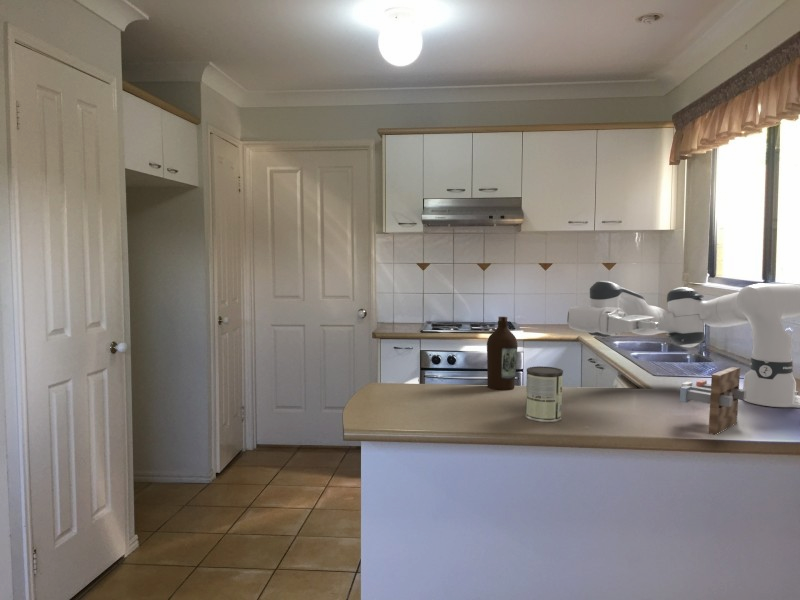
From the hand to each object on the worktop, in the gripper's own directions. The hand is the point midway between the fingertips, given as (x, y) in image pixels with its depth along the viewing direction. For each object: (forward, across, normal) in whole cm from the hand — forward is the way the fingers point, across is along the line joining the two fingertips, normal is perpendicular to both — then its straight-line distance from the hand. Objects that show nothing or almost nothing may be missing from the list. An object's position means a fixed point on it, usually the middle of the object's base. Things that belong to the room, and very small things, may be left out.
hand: (657, 325), depth 193 cm
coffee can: (-18, +34, -26) cm, 47 cm away
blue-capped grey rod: (+19, +12, -19) cm, 30 cm away
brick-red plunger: (+19, 0, -19) cm, 27 cm away
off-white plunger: (+17, +6, -19) cm, 26 cm away
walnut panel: (+22, +6, -26) cm, 35 cm away
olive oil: (-50, +10, -26) cm, 57 cm away
